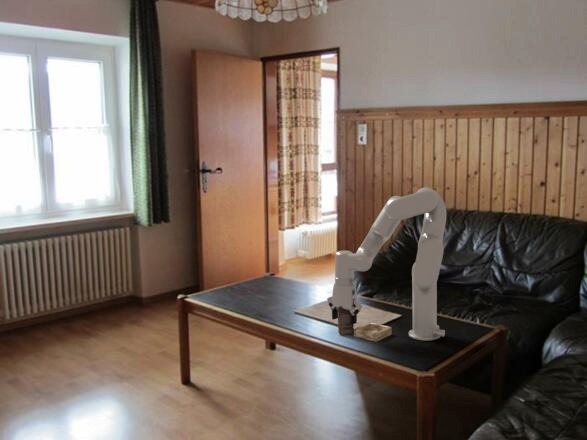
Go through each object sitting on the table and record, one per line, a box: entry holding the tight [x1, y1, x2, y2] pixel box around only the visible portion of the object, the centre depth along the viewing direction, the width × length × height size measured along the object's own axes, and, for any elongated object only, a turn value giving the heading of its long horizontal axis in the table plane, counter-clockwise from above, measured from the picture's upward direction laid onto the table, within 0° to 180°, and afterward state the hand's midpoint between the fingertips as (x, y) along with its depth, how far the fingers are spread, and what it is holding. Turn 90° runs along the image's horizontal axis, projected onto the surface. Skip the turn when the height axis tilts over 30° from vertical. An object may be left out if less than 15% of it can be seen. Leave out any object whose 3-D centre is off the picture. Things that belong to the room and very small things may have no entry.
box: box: [337, 306, 355, 336], centre depth 250 cm, size 6×4×12 cm
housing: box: [353, 321, 393, 343], centre depth 248 cm, size 11×11×3 cm
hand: (344, 321), depth 250 cm, fingers open, 9 cm apart
